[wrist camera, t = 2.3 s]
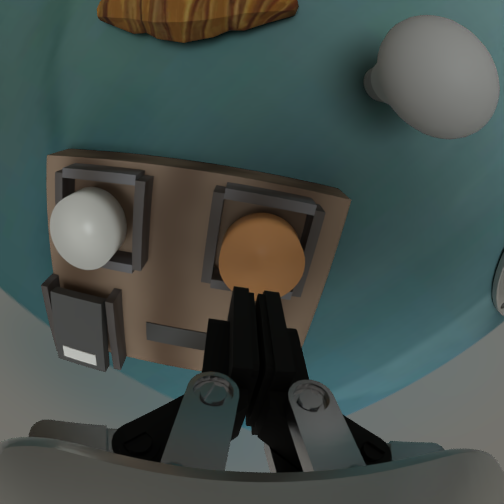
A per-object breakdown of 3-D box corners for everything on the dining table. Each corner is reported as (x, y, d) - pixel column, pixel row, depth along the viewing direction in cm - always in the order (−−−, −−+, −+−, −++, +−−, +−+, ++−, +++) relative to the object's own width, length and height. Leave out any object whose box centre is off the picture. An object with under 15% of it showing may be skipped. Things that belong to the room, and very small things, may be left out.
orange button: (308, 220, 16) (314, 232, 15) (289, 288, 18) (293, 306, 17) (227, 206, 16) (225, 217, 14) (216, 277, 18) (213, 294, 16)
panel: (337, 188, 20) (360, 208, 16) (284, 357, 27) (289, 397, 23) (68, 148, 19) (30, 160, 14) (78, 319, 25) (57, 352, 21)
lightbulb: (373, 144, 19) (473, 178, 9) (315, 76, 17) (384, 41, 7) (426, 96, 17) (537, 103, 7) (375, 30, 15) (469, -17, 5)
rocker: (106, 298, 20) (100, 305, 19) (109, 364, 21) (104, 372, 20) (56, 286, 19) (49, 291, 18) (63, 351, 21) (58, 358, 20)
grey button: (128, 191, 16) (115, 200, 14) (126, 261, 17) (115, 276, 16) (64, 183, 15) (48, 191, 14) (67, 249, 17) (53, 262, 15)
